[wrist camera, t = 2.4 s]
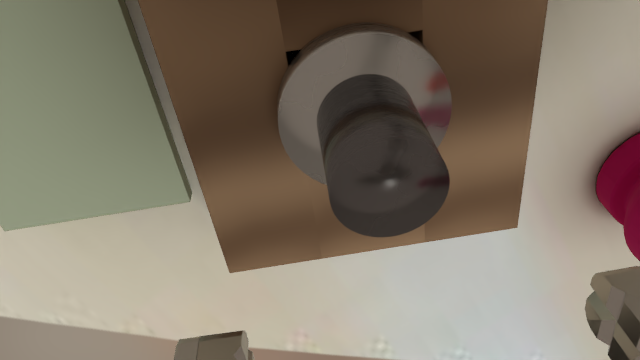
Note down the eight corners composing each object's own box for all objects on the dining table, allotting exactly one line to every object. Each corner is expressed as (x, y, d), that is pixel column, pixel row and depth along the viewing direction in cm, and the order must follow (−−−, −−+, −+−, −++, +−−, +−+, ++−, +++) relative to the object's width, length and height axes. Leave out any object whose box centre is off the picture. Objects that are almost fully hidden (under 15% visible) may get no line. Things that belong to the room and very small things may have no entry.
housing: (137, -118, 19) (103, -101, 15) (506, -178, 19) (571, -175, 15) (234, 208, 28) (229, 273, 24) (481, 169, 28) (517, 227, 24)
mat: (-151, -27, 20) (-164, -22, 19) (100, -67, 20) (95, -63, 19) (10, 221, 28) (4, 231, 27) (192, 192, 28) (190, 201, 27)
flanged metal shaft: (262, -5, 22) (262, 114, 13) (409, -29, 22) (506, 75, 13) (287, 123, 26) (299, 282, 17) (412, 103, 26) (489, 252, 17)
